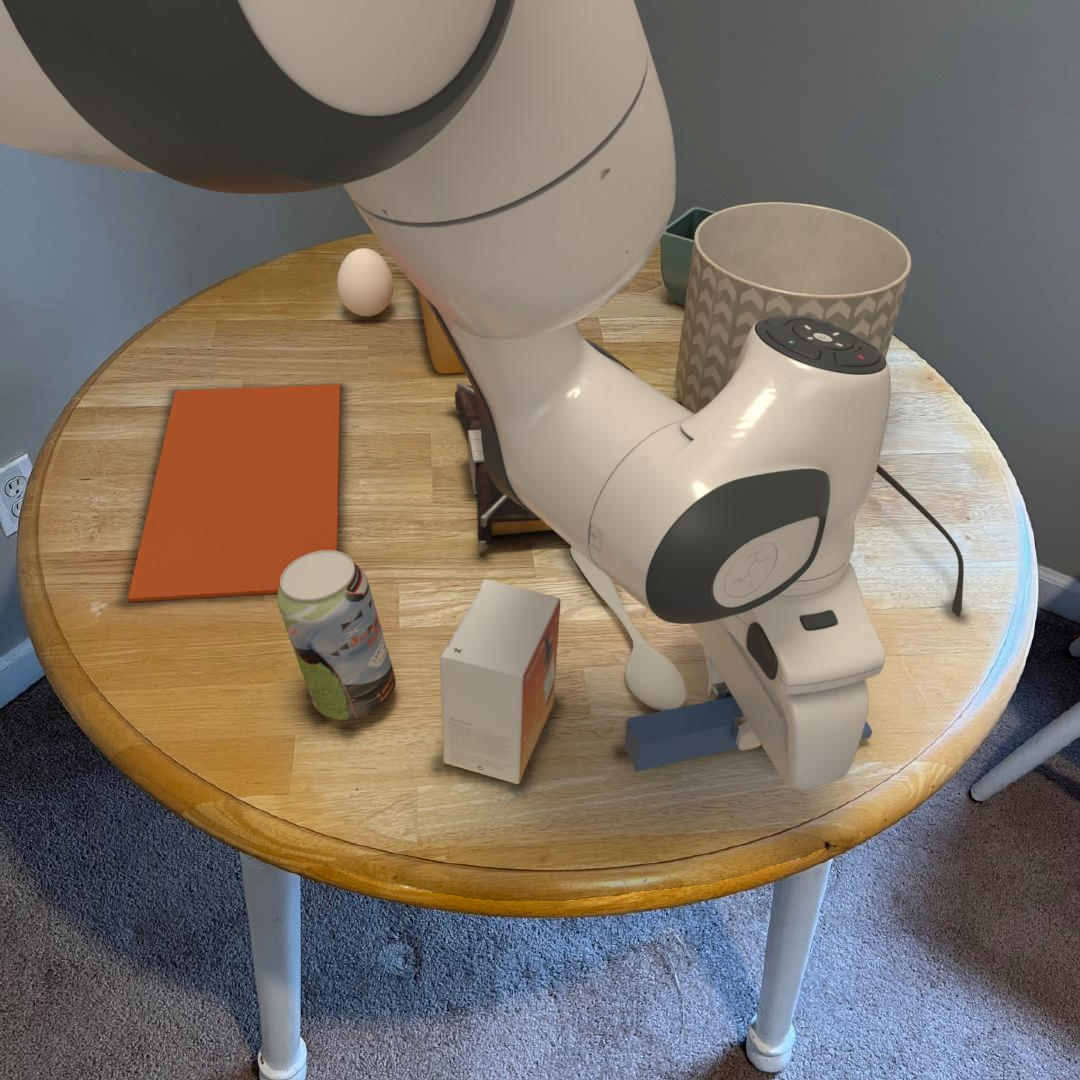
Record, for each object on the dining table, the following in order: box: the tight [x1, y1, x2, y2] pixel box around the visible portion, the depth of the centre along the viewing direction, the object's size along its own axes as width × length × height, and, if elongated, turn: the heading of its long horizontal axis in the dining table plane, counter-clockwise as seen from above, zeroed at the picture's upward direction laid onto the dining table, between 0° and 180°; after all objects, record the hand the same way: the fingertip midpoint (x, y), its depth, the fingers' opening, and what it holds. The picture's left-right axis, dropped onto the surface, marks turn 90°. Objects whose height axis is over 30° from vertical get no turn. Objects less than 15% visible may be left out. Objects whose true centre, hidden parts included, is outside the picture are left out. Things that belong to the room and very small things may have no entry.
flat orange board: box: [127, 383, 341, 603], centre depth 97 cm, size 30×16×1 cm, turn 7°
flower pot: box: [660, 206, 717, 307], centre depth 124 cm, size 9×9×9 cm
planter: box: [674, 201, 912, 414], centre depth 102 cm, size 19×19×18 cm
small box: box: [439, 578, 562, 785], centre depth 73 cm, size 8×6×10 cm
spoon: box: [570, 545, 688, 711], centre depth 84 cm, size 4×21×2 cm, turn 18°
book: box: [454, 381, 563, 553], centre depth 98 cm, size 22×17×5 cm
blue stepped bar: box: [623, 696, 873, 772], centre depth 75 cm, size 17×6×3 cm, turn 107°
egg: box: [336, 247, 395, 318], centre depth 119 cm, size 6×6×8 cm
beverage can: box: [276, 550, 396, 721], centre depth 75 cm, size 6×7×12 cm
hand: (733, 720), depth 75 cm, fingers closed on blue stepped bar, 2 cm apart
